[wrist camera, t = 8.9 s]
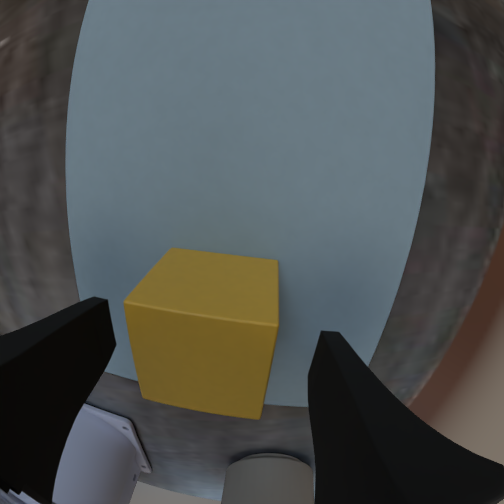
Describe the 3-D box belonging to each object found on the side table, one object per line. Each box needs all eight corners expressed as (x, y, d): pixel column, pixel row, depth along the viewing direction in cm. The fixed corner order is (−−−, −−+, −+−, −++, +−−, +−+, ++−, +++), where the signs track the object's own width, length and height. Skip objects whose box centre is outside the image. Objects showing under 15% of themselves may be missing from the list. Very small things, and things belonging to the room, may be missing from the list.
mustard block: (265, 345, 12) (260, 420, 8) (174, 332, 12) (141, 399, 8) (278, 259, 10) (279, 325, 7) (170, 246, 10) (121, 301, 7)
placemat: (346, 401, 14) (348, 408, 13) (102, 364, 14) (98, 369, 14) (425, 0, 6) (430, -4, 6) (100, -16, 7) (94, -19, 6)
